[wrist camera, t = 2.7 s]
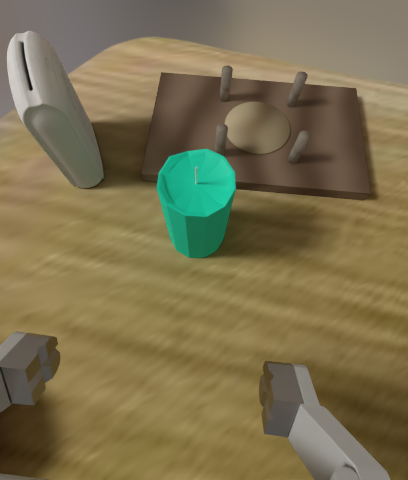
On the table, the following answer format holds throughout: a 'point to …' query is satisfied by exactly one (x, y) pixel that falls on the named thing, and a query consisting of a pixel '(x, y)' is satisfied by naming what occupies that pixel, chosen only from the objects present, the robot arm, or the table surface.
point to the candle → (196, 200)
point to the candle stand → (263, 132)
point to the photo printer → (53, 109)
